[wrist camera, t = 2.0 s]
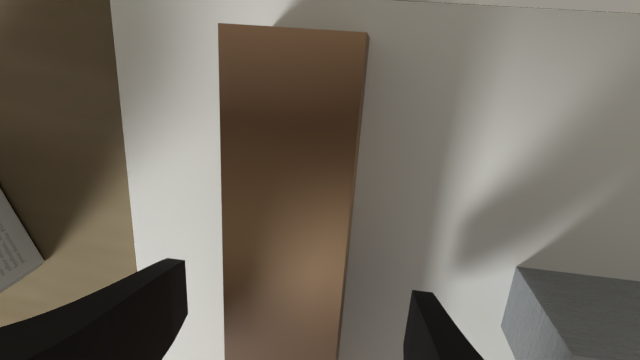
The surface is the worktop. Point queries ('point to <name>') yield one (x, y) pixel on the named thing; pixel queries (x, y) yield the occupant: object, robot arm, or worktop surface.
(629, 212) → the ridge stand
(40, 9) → the worktop surface
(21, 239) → the skincare box
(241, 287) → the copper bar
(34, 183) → the worktop surface
